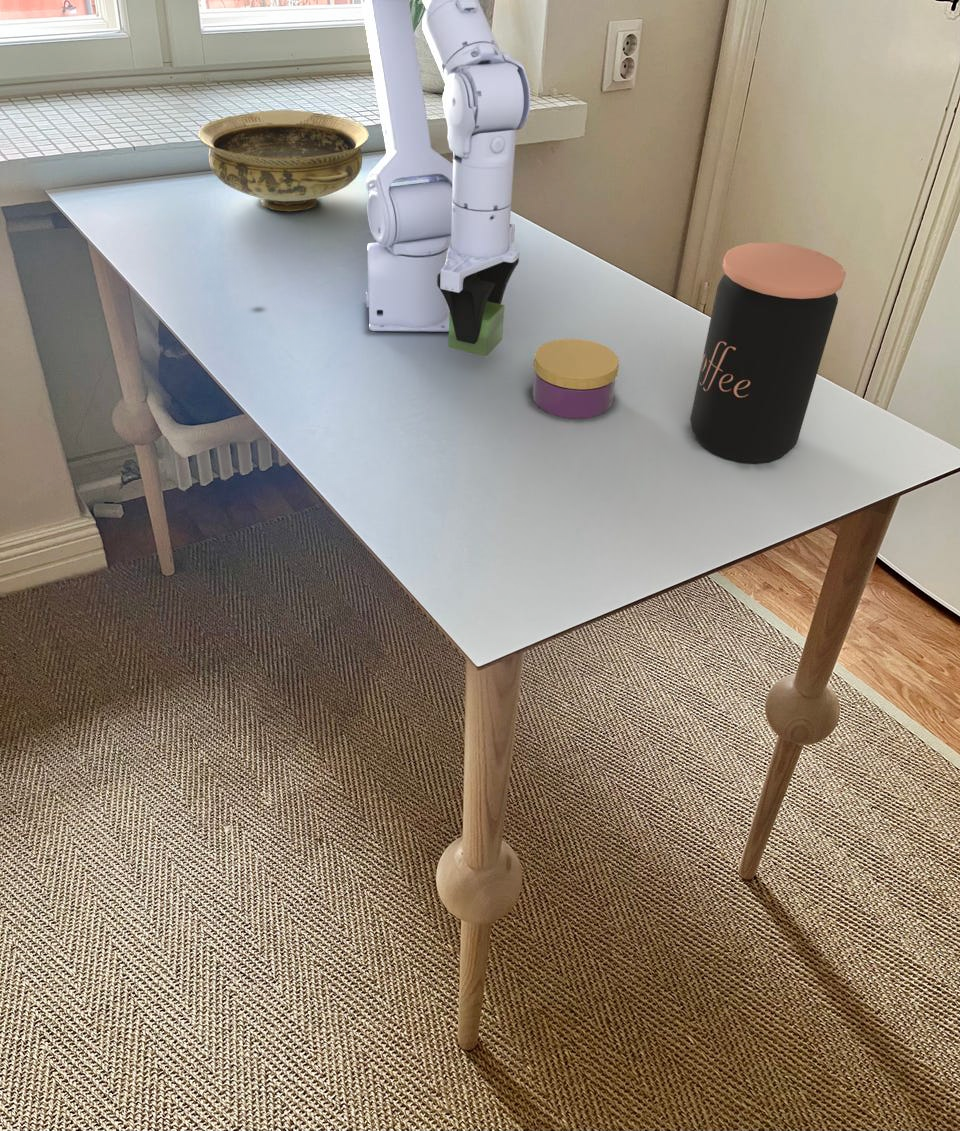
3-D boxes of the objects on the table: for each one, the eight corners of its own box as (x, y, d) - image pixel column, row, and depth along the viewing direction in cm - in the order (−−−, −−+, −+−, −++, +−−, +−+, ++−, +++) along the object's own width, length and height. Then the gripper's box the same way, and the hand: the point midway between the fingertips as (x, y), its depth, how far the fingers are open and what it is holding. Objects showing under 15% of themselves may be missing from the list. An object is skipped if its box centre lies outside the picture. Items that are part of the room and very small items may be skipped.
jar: (537, 418, 99) (540, 381, 96) (528, 378, 105) (531, 343, 103) (618, 418, 100) (624, 382, 97) (604, 379, 106) (609, 343, 103)
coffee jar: (676, 411, 101) (709, 241, 90) (775, 411, 102) (821, 242, 91) (703, 468, 93) (743, 288, 82) (811, 467, 94) (865, 289, 83)
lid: (538, 389, 97) (539, 378, 96) (529, 349, 103) (530, 338, 103) (624, 390, 97) (626, 378, 97) (609, 349, 104) (611, 338, 103)
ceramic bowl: (412, 220, 141) (412, 148, 134) (259, 251, 130) (251, 173, 123) (315, 162, 159) (310, 96, 153) (174, 184, 148) (163, 114, 142)
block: (486, 357, 101) (488, 321, 99) (448, 347, 102) (449, 312, 100) (502, 339, 104) (504, 304, 102) (464, 331, 106) (466, 296, 103)
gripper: (491, 233, 87) (484, 369, 96) (546, 186, 98) (535, 312, 107) (420, 219, 89) (419, 353, 98) (481, 174, 100) (475, 299, 108)
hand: (475, 331), depth 102 cm, fingers closed on block, 4 cm apart
